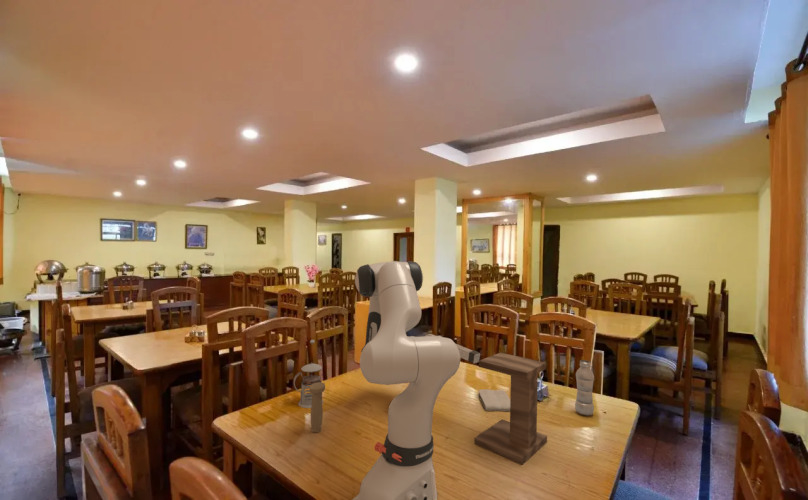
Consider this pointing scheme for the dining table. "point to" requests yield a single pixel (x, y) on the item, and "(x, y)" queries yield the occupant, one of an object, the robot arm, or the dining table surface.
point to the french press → (307, 398)
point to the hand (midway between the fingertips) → (437, 341)
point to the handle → (316, 406)
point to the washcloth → (494, 400)
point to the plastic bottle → (584, 389)
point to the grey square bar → (466, 353)
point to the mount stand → (515, 410)
